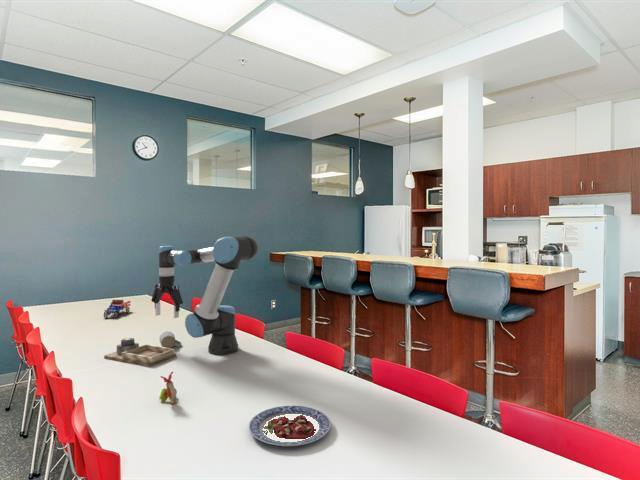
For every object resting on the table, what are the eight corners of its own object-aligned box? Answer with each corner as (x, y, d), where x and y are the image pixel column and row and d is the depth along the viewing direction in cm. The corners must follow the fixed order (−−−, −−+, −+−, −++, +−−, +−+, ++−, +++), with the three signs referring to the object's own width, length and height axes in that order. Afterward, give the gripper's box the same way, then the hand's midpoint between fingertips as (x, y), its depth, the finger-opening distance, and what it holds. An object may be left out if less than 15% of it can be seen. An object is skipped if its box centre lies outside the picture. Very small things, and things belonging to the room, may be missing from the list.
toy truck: (102, 319, 276) (102, 303, 276) (120, 311, 301) (120, 296, 301) (114, 319, 276) (114, 303, 276) (131, 311, 301) (131, 296, 301)
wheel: (137, 350, 203) (137, 338, 203) (127, 354, 198) (127, 341, 197) (128, 349, 206) (128, 337, 205) (118, 352, 200) (118, 340, 200)
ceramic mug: (161, 350, 209) (161, 335, 209) (159, 346, 216) (159, 331, 216) (182, 348, 214) (182, 333, 213) (180, 343, 221) (180, 329, 221)
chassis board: (176, 355, 200) (176, 345, 200) (149, 366, 185) (149, 355, 185) (133, 348, 212) (132, 338, 212) (104, 358, 196) (104, 347, 196)
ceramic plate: (328, 411, 142) (328, 402, 142) (333, 452, 117) (333, 442, 117) (254, 411, 142) (254, 403, 142) (242, 453, 116) (242, 442, 116)
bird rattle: (182, 406, 149) (172, 390, 155) (186, 383, 145) (177, 366, 151) (165, 412, 145) (156, 394, 151) (169, 387, 141) (160, 371, 147)
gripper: (190, 275, 212) (190, 317, 212) (154, 273, 221) (155, 312, 222) (179, 277, 205) (179, 320, 206) (143, 274, 214) (144, 315, 215)
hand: (167, 316), depth 214 cm, fingers open, 12 cm apart
